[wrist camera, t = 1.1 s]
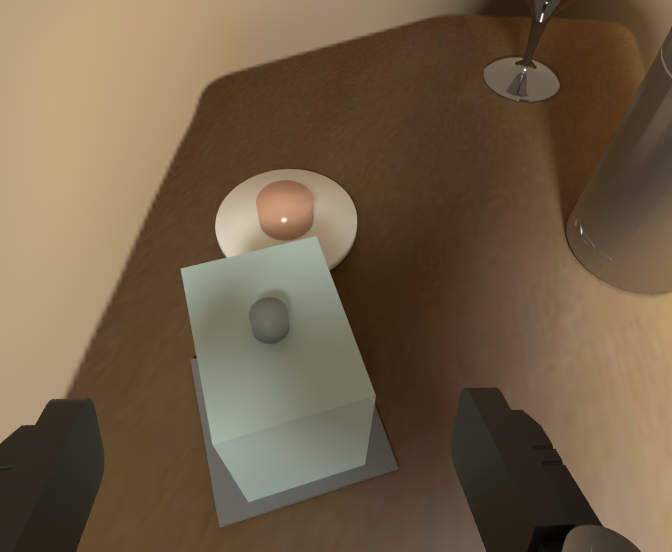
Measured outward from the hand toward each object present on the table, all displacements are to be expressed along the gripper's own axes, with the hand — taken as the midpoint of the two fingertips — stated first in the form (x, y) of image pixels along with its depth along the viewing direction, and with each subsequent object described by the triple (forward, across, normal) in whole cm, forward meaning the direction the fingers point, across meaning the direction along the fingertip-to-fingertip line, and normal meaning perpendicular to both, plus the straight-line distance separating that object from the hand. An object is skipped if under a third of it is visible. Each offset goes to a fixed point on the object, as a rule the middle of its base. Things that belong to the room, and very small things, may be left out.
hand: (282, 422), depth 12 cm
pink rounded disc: (+28, 0, +6) cm, 29 cm away
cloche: (+15, 0, +13) cm, 20 cm away
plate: (+28, -1, +7) cm, 29 cm away
